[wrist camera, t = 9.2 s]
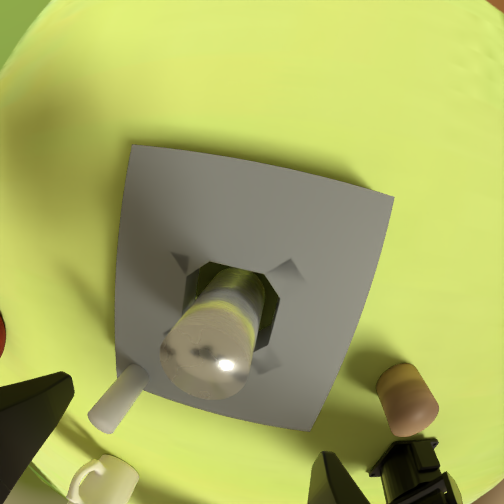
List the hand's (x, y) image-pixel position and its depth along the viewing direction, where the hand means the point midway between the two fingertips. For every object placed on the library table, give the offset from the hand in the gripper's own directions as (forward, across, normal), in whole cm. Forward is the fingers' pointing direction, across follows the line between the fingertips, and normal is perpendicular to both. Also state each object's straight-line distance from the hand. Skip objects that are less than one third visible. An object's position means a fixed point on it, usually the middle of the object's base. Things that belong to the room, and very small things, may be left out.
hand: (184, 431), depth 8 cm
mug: (+13, +13, +30) cm, 35 cm away
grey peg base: (+13, 0, 0) cm, 13 cm away
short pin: (+13, -14, +5) cm, 20 cm away
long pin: (+13, 0, 0) cm, 13 cm away
